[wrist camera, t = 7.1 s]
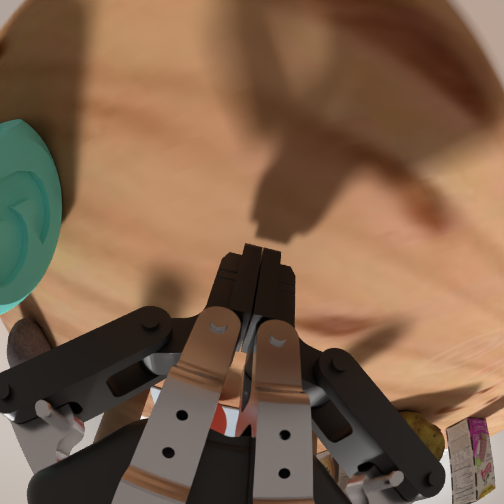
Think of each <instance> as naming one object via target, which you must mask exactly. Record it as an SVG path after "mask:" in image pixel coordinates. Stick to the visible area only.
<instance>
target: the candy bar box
mask: <svg viewBox="0 0 504 504" xmlns="http://www.w3.org/2000/svg"><path fill="white" fill-rule="evenodd" d="M446 435H447V442H448V450H449V458H450V467H451V482H452V504H471V503H473V502H476V501H478V500H479V499H481V498H482V497H484V496H485V495H487V494H488V493H490V492H491V491H492V490H494V489H495V476H494V466H493V458H492V452H491V445H490V439H489V433H488V428H487V423H486V419H480V418H466V419H463V420H461V421H460V422H458V423H456V424H454V425H452V426H450V427H449V428H447V429H446Z"/></svg>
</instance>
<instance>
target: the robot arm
mask: <svg viewBox="0 0 504 504" xmlns="http://www.w3.org/2000/svg"><path fill="white" fill-rule="evenodd" d="M261 253H262V254H261ZM280 262H281V252H280V251H276V250H272V249H268V248H263V251H262V247H259V246H255V245H251V244H247V243H245V246H244V250H243V254H242V255H240V254H235V253H231V252H229V253H228V254H227V255H226V256H225V257H223V258H222V260H221V263H220V266H219V269H218V272H217V275H216V278H215V281H214V284H213V287H212V290H211V293H210V296H209V299H208V302H207V305H206V307H205V308H204V310H203V311H202V312H201V313H199V314H198V315H196V316H193V317H189V318H171V317H170V316H169V314H168V313H167V312H166V311H165V310H163V309H161V308H159V307H155V306H146V307H142V308H139V309H137V310H135V311H133V312H131V313H129V314H127V315H124V316H122V317H120V318H118V319H116V320H114V321H112V322H109V323H107V324H105V325H103V326H101V327H99V328H96V329H94V330H92V331H90V332H88V333H86V334H84V335H81V336H79V337H77V338H75V339H73V340H71V341H68V342H66V343H64V344H62V345H60V346H58V347H55V348H53V349H51V350H49V351H47V352H45V353H42V354H40V355H38V356H36V357H34V358H32V359H29V360H27V361H25V362H23V363H21V364H18V365H16V366H14V367H12V368H10V369H8V370H5V371H3V372H1V373H0V413H1V414H2V415H4V416H5V417H7V418H8V419H9V420H10V422H11V424H12V426H13V429H14V432H15V434H16V436H17V439H18V441H19V444H20V446H21V448H22V451H23V453H24V455H25V457H26V459H27V461H28V463H29V465H30V467H31V469H32V471H33V473H34V476H33V477H32V478H31V480H30V482H29V485H28V489H27V500H28V504H412V503H413V502H414V501H418V500H422V499H426V498H430V497H433V496H435V495H437V494H438V493H439V492H440V491H441V489H442V488H443V486H444V483H445V470H444V468H443V466H442V465H441V463H440V462H439V461H438V460H437V458H436V457H435V456H434V455H433V453H432V452H431V451H430V450H429V449H428V447H427V446H426V445H425V444H424V442H423V441H422V440H421V439H420V438H419V436H418V435H417V434H416V433H415V431H414V430H413V429H412V428H411V427H410V425H409V424H408V423H407V422H406V421H405V419H404V418H403V417H402V416H401V414H400V413H399V412H398V411H397V410H396V408H395V407H394V406H393V405H392V404H391V402H390V401H389V400H388V399H387V398H386V396H385V395H384V394H383V393H382V392H381V390H380V389H379V388H378V387H377V386H376V384H375V383H374V382H373V381H372V380H371V378H370V377H369V376H368V375H367V374H366V372H365V371H364V370H363V369H362V368H361V366H360V365H359V364H358V363H357V362H356V361H355V359H354V358H353V357H352V356H351V355H350V354H349V353H348V352H346V351H345V350H342V349H339V348H330V349H327V350H325V351H324V352H321V351H319V350H317V349H315V348H313V347H311V346H309V345H307V344H306V343H304V342H303V341H302V340H301V339H300V338H299V336H298V333H297V331H296V330H295V274H294V272H293V270H292V268H291V267H290V266H286V265H282V264H280ZM242 341H243V343H242ZM241 344H242V348H241V352H244V353H247V356H246V362H245V365H244V367H243V371H242V381H241V393H240V405H239V415H238V420H237V424H236V430H235V437H229V436H226V435H224V434H221V433H219V432H217V431H215V430H213V429H211V428H210V427H211V423H212V420H213V417H214V414H215V410H216V407H217V404H218V401H219V398H220V394H221V391H222V388H223V385H224V381H225V378H226V375H227V371H228V368H229V367H230V366H231V364H232V361H233V358H234V355H235V351H239V350H240V347H241ZM165 378H166V380H165V382H164V384H163V387H162V389H161V391H160V394H159V396H158V398H157V401H156V403H155V405H154V408H153V410H152V412H151V415H150V417H149V418H147V419H141V420H137V421H134V422H131V423H129V424H127V425H125V426H123V427H121V428H120V429H118V430H116V431H114V432H113V433H111V434H109V435H107V436H106V437H104V438H102V439H100V440H99V441H97V442H95V443H93V444H91V445H90V446H88V447H86V448H84V449H82V450H80V451H78V452H76V453H74V454H73V455H70V456H69V454H70V451H71V450H72V448H73V447H74V446H75V445H76V444H78V443H79V442H80V441H81V440H82V438H83V436H84V432H85V427H84V422H85V421H88V420H90V419H92V418H94V417H95V416H98V415H99V414H101V413H103V412H105V411H107V410H109V409H111V408H113V407H115V406H117V405H119V404H121V403H123V402H124V401H126V400H128V399H130V398H132V397H134V396H135V395H137V394H139V393H141V392H143V391H144V390H146V389H148V388H150V387H152V386H153V385H155V384H157V383H159V382H160V381H162V380H164V379H165ZM312 430H313V432H314V433H315V434H316V436H317V437H318V438H319V439H320V441H321V442H322V443H323V445H324V446H325V447H326V449H327V450H328V451H329V452H330V454H331V455H332V456H333V458H334V459H335V460H336V461H337V463H338V464H339V465H340V466H341V468H342V469H343V470H344V471H345V473H346V474H347V475H348V476H349V478H350V479H349V481H348V484H347V487H346V493H347V494H348V496H349V498H350V499H351V501H350V500H349V499H348V497H347V496H346V495H345V494H344V492H343V491H342V490H341V488H340V487H339V486H338V484H337V483H336V482H335V480H334V479H333V477H332V476H331V475H330V473H329V472H328V471H327V469H326V468H325V466H324V465H323V464H322V463H321V461H320V460H319V459H318V458H317V457H316V456H314V455H313V454H312ZM351 502H352V503H351Z"/></svg>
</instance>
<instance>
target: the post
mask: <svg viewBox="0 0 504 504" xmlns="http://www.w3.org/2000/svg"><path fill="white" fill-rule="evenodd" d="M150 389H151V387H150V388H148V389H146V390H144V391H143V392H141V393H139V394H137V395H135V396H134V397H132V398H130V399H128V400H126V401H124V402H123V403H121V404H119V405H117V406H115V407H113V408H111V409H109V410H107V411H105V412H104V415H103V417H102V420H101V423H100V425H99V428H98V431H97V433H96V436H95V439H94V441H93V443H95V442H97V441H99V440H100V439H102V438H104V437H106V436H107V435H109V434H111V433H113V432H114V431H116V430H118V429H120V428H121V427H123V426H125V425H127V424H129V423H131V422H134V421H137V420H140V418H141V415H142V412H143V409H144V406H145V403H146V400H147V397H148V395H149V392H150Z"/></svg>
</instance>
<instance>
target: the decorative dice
mask: <svg viewBox="0 0 504 504" xmlns="http://www.w3.org/2000/svg"><path fill="white" fill-rule="evenodd" d="M61 217H62V196H61V187H60V181H59V176H58V173H57V169H56V166H55V163H54V161H53V158H52V156H51V154H50V152H49V150H48V148H47V146H46V144H45V143H44V141H43V140H42V138H41V137H40V136H39V135H38V133H37V132H36V131H35V130H34V129H33V128H32V127H31V126H30V125H28V124H27V123H26V122H24V121H23V120H21V119H16V120H11V121H7V122H4V123H0V315H1V314H3V313H5V312H7V311H9V310H10V309H12V308H14V307H15V306H16V305H18V304H19V303H20V302H22V301H23V300H24V299H25V298H26V297H27V296H28V295H29V294H30V293H31V292H32V291H33V290H34V288H35V287H36V286H37V285H38V283H39V282H40V281H41V279H42V277H43V276H44V274H45V272H46V270H47V268H48V266H49V264H50V262H51V260H52V257H53V254H54V252H55V248H56V245H57V241H58V237H59V232H60V226H61Z"/></svg>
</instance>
